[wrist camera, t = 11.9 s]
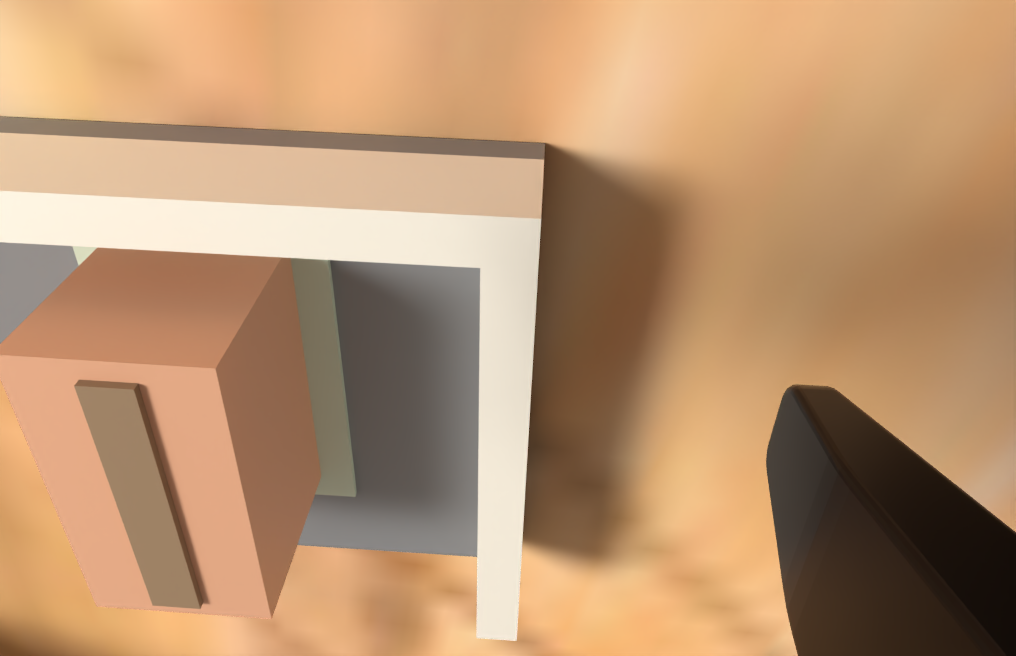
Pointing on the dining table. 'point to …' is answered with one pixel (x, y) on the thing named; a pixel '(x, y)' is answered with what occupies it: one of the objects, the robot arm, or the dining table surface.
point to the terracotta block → (171, 426)
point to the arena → (335, 302)
